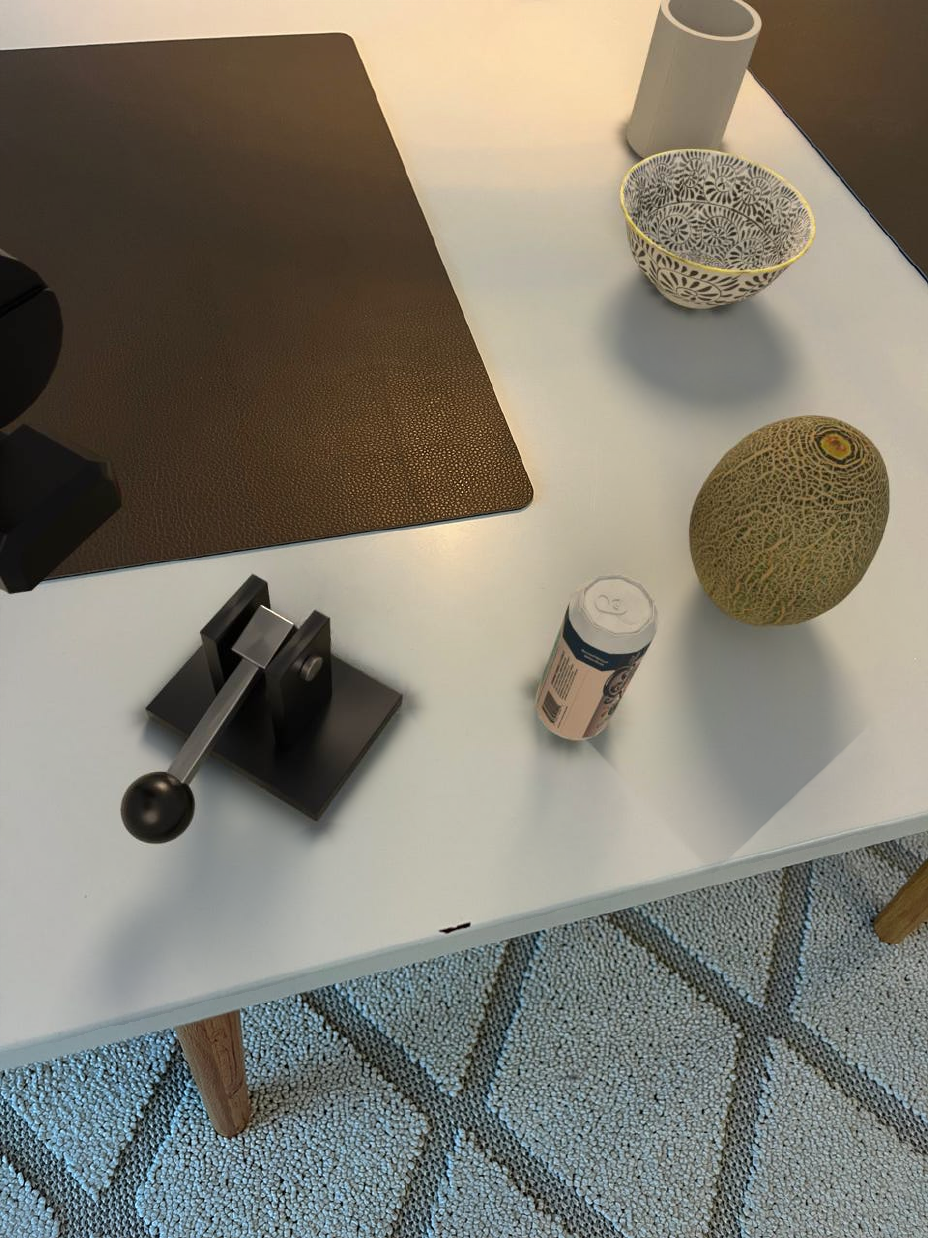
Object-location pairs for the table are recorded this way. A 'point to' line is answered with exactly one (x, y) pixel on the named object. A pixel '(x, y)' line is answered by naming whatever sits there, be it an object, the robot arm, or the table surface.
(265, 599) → the lever base
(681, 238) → the bowl
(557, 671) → the beer can
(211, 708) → the ball knob lever
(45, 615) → the table surface
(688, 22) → the cup
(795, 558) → the fruit
